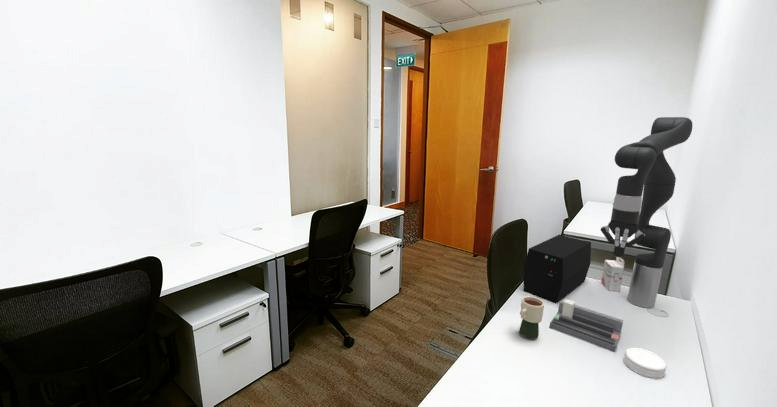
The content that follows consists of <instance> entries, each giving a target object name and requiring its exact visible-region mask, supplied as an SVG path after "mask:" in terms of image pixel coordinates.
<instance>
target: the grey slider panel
mask: <svg viewBox="0 0 777 407" xmlns="http://www.w3.org/2000/svg"><path fill="white" fill-rule="evenodd" d="M564 301H565V300H561V301H559V302H558V309H557V312H556V314H555V315H554V316H553V318H552V319H551V321H550V322H549V328H550V329H552V330H555V331H557V332H559V333H563V334H566V335H568V336H571V337H573V338H577V339H579V340H582V341H584V342H587V343H588V344H589V343H590V344H592V345H595V346H598V347H600V348H603V349H606V350H609V351H610V352H614V353H615V352H616V350H617V348H618V347H617V346H618V344H619V341H620V339H621V335H622V328H623V323H624V319H620V318H618V317H616V316H615V317H613V316H611V315H608V314H606V313H601V312H599V311H596V310H592V309H589V308H586V307H583V306H580V305H578V304H575V305H574V311H573V317H572V319H570V318H567V317H564V316H562V310H563V303H564Z"/></svg>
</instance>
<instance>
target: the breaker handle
mask: <svg viewBox="0 0 777 407" xmlns="http://www.w3.org/2000/svg"><path fill="white" fill-rule="evenodd" d="M563 301H564V303H563V310H562V316H564V317H567V318H570V319H572V317H573V311H574V305H576V301H574V300H571V299H567V298H565V299H564V300H563Z"/></svg>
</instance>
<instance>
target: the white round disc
mask: <svg viewBox="0 0 777 407" xmlns="http://www.w3.org/2000/svg"><path fill="white" fill-rule="evenodd" d="M623 363H624V364H625V366H626V367H628V368H629V369H630V370H631V371H633V372H634V373H636V374H638V375H641V376H643V377H647V378H650V379H660V378H663V377H664V376H665V375H666V369H667V364H666V362H665V360H664V359H663V358H662V357H660V356H659V355H658V354H656V353H654V352H652V351H650V350H647V349H645V348H640V347H629V348H627V349H625V352H624V357H623Z"/></svg>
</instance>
